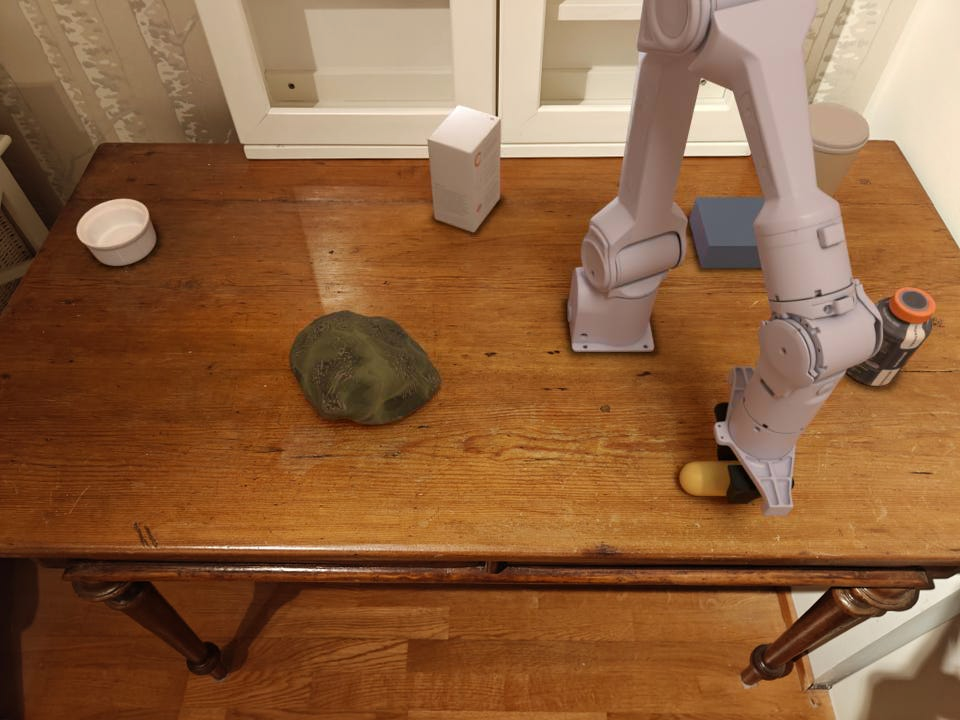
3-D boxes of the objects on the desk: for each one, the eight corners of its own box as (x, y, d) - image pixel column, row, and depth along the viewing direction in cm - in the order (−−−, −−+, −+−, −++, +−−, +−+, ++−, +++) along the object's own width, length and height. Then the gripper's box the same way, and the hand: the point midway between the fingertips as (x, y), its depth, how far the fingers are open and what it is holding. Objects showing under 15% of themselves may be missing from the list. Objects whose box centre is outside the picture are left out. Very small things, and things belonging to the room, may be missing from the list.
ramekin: (143, 274, 89) (129, 249, 86) (78, 266, 90) (62, 242, 87) (172, 226, 95) (160, 201, 91) (110, 220, 95) (96, 195, 92)
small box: (461, 185, 99) (457, 103, 89) (501, 198, 97) (502, 116, 87) (432, 219, 95) (425, 138, 84) (474, 234, 93) (472, 153, 83)
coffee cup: (841, 190, 98) (880, 114, 88) (822, 229, 93) (861, 154, 84) (776, 168, 101) (806, 92, 91) (754, 205, 96) (784, 130, 87)
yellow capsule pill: (679, 501, 70) (687, 486, 67) (673, 471, 72) (680, 455, 69) (783, 501, 70) (795, 486, 67) (774, 471, 72) (786, 455, 69)
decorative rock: (407, 324, 86) (405, 261, 79) (450, 421, 76) (453, 360, 69) (285, 351, 82) (271, 287, 74) (313, 458, 72) (301, 396, 65)
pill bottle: (898, 391, 78) (952, 327, 69) (842, 383, 78) (889, 318, 69) (890, 349, 81) (941, 283, 72) (837, 342, 82) (881, 275, 73)
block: (701, 268, 89) (709, 245, 86) (688, 220, 94) (695, 197, 91) (811, 268, 89) (823, 245, 86) (792, 219, 94) (803, 196, 91)
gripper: (713, 337, 63) (679, 417, 74) (749, 483, 54) (705, 549, 65) (791, 336, 63) (746, 416, 74) (840, 482, 54) (781, 548, 65)
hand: (732, 478), depth 70 cm, fingers open, 4 cm apart
